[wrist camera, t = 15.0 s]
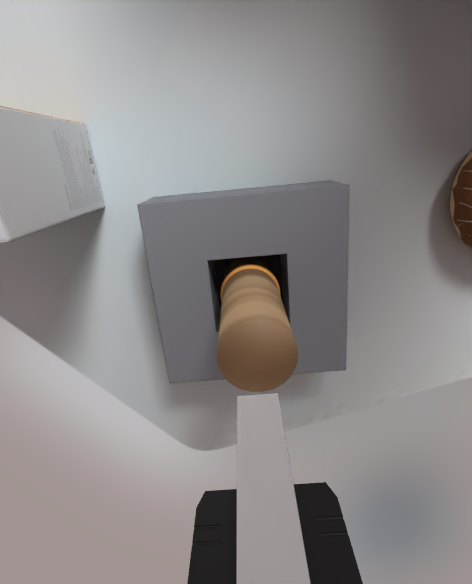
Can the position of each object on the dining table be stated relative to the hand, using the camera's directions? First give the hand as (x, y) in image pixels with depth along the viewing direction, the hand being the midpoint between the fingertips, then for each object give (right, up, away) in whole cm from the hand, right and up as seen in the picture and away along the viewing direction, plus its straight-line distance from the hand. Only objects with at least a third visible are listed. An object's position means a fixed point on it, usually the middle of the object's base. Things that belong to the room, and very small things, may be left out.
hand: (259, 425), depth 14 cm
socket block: (0, +7, +17) cm, 19 cm away
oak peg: (0, +7, +17) cm, 19 cm away
